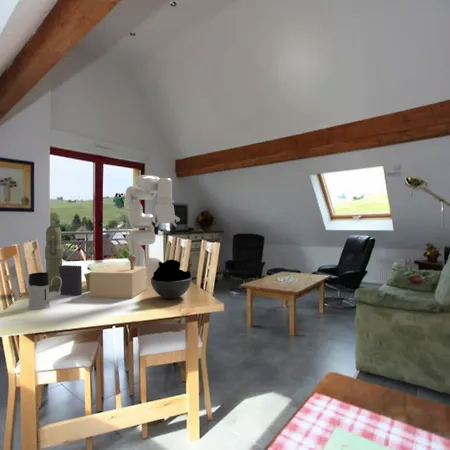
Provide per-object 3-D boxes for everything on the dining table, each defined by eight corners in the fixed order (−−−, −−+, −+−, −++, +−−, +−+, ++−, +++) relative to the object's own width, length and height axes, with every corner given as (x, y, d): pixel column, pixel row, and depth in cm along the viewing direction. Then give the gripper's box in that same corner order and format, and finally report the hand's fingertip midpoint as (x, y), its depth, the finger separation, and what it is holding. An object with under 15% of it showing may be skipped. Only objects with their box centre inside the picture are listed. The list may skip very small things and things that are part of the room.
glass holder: (34, 304, 147) (33, 272, 146) (66, 304, 148) (65, 271, 147) (23, 310, 138) (23, 275, 138) (57, 309, 139) (57, 275, 139)
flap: (108, 267, 180) (108, 251, 179) (146, 267, 177) (146, 252, 177) (89, 273, 159) (89, 256, 159) (131, 274, 157) (131, 256, 157)
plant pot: (80, 290, 175) (80, 274, 175) (91, 286, 184) (91, 271, 184) (95, 291, 173) (95, 275, 173) (105, 287, 182) (105, 272, 182)
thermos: (45, 292, 170) (44, 227, 169) (45, 288, 180) (44, 226, 180) (64, 290, 175) (63, 226, 174) (62, 286, 185) (61, 226, 184)
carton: (108, 288, 180) (108, 267, 179) (146, 289, 177) (146, 267, 177) (89, 297, 160) (89, 273, 159) (132, 298, 157) (132, 274, 157)
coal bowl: (186, 291, 171) (186, 257, 171) (196, 300, 153) (196, 261, 152) (148, 295, 164) (147, 258, 164) (154, 305, 146) (153, 264, 145)
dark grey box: (83, 294, 167) (82, 265, 166) (77, 296, 162) (76, 266, 162) (65, 292, 170) (65, 264, 169) (59, 294, 165) (58, 266, 165)
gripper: (176, 202, 176) (176, 233, 177) (146, 201, 166) (146, 234, 167) (182, 201, 170) (182, 233, 171) (152, 201, 160) (152, 235, 161)
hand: (165, 234), depth 169 cm, fingers open, 9 cm apart
